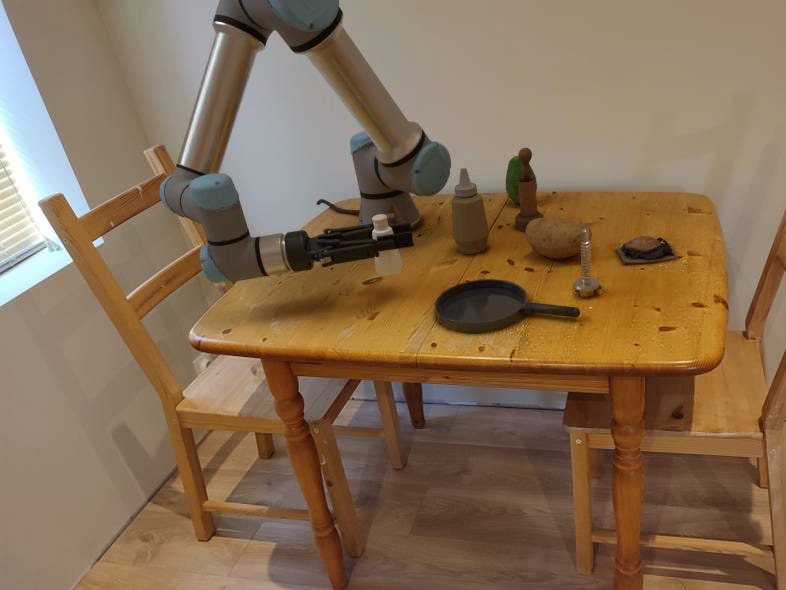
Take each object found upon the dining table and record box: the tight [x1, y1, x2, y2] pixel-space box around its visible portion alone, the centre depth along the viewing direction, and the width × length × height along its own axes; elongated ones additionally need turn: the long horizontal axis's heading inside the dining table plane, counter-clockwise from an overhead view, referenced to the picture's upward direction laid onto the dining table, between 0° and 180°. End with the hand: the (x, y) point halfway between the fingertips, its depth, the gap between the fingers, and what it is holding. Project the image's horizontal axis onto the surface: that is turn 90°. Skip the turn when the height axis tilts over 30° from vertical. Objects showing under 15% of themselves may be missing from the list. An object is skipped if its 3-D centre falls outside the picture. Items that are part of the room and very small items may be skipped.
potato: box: [524, 217, 593, 260], centre depth 134 cm, size 10×14×8 cm
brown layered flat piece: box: [616, 235, 676, 265], centre depth 132 cm, size 11×8×4 cm
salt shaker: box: [372, 214, 404, 277], centre depth 124 cm, size 5×5×11 cm
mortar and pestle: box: [514, 147, 544, 232], centre depth 148 cm, size 7×6×18 cm
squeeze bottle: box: [451, 167, 490, 255], centre depth 139 cm, size 8×8×18 cm
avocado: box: [505, 155, 538, 205], centre depth 162 cm, size 8×8×12 cm
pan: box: [434, 278, 529, 334], centre depth 120 cm, size 17×17×2 cm
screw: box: [572, 228, 600, 298], centre depth 118 cm, size 13×5×5 cm
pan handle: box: [522, 301, 581, 319], centre depth 115 cm, size 11×2×2 cm, turn 66°
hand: (411, 234), depth 124 cm, fingers closed on salt shaker, 4 cm apart
